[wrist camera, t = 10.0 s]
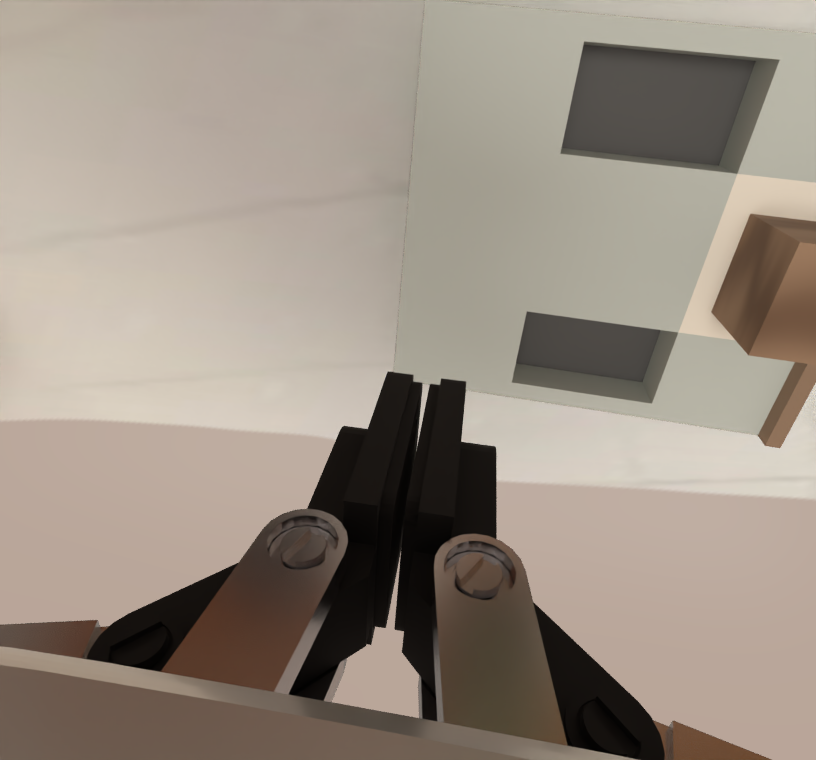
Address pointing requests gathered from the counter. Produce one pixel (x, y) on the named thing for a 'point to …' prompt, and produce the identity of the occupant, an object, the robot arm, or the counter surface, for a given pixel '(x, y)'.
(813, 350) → the walnut block
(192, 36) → the counter surface
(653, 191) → the board
